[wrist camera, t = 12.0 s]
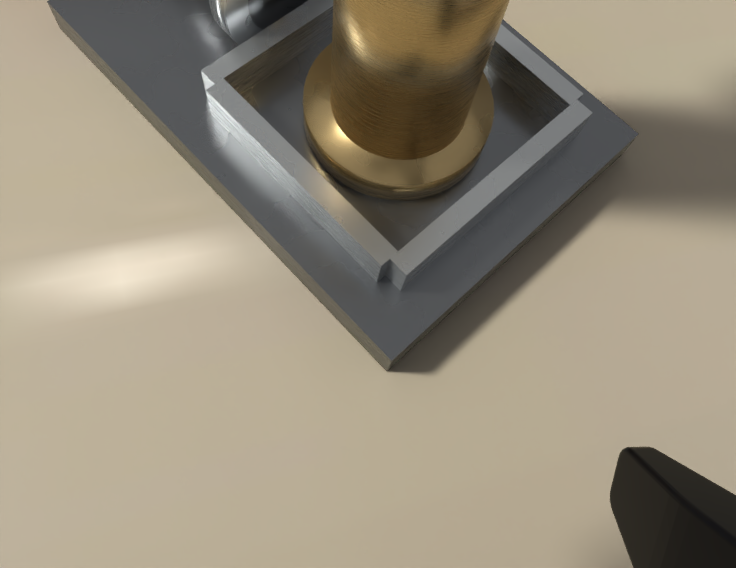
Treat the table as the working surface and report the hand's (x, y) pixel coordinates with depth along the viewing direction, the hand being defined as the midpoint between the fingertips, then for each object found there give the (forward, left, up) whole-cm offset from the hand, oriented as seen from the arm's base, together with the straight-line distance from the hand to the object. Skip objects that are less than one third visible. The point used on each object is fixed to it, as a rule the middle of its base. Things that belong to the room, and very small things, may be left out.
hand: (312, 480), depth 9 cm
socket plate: (+12, -12, -13) cm, 22 cm away
